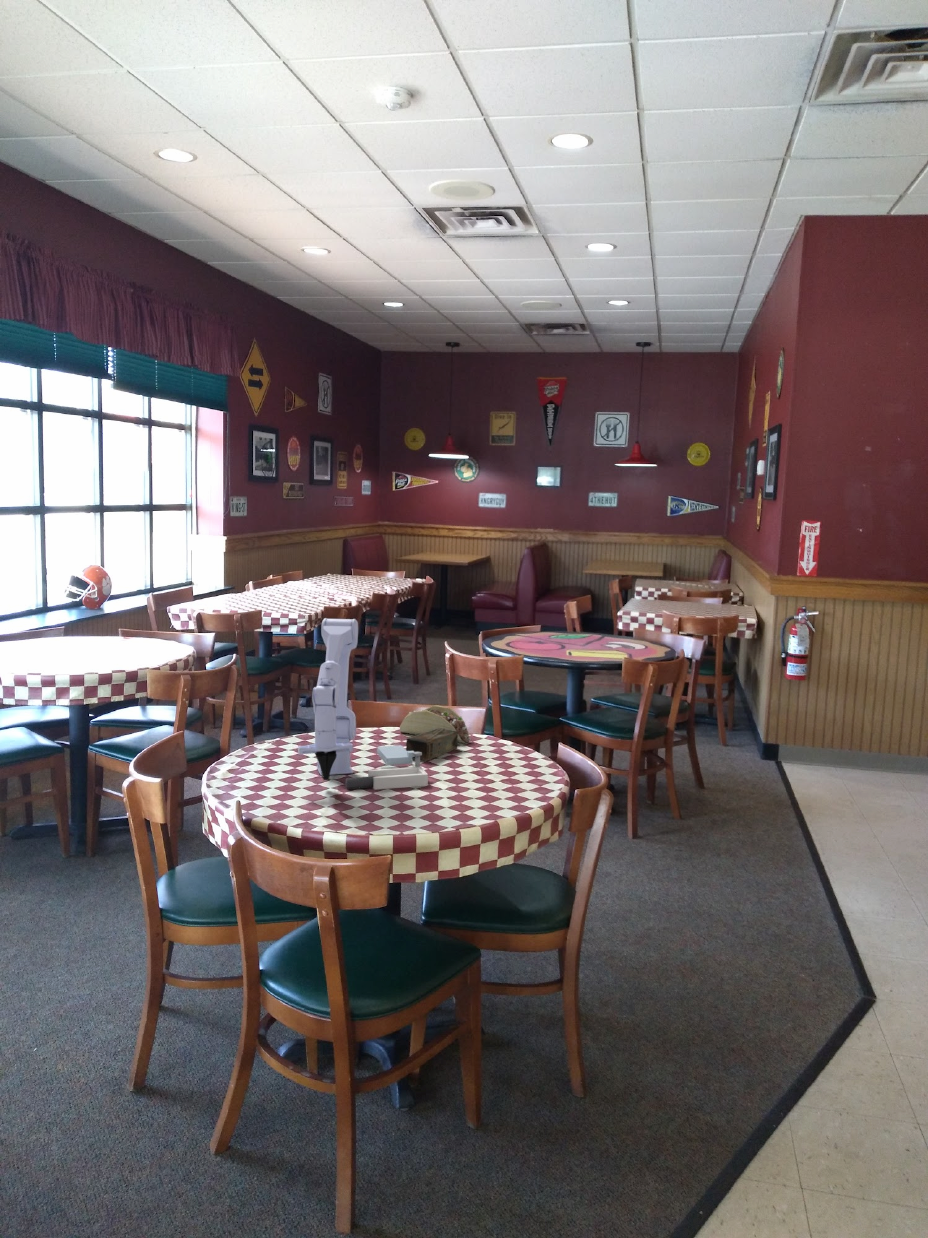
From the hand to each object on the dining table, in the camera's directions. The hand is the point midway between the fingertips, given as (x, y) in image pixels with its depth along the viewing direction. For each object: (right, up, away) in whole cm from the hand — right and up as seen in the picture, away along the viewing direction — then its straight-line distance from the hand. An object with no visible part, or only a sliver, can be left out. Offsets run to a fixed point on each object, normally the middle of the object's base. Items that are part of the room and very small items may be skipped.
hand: (325, 778), depth 247 cm
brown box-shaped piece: (+27, +1, +39) cm, 47 cm away
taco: (+28, +3, +59) cm, 65 cm away
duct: (+19, -2, +6) cm, 20 cm away
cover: (+19, +3, +18) cm, 26 cm away
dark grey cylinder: (+9, -2, +3) cm, 10 cm away
